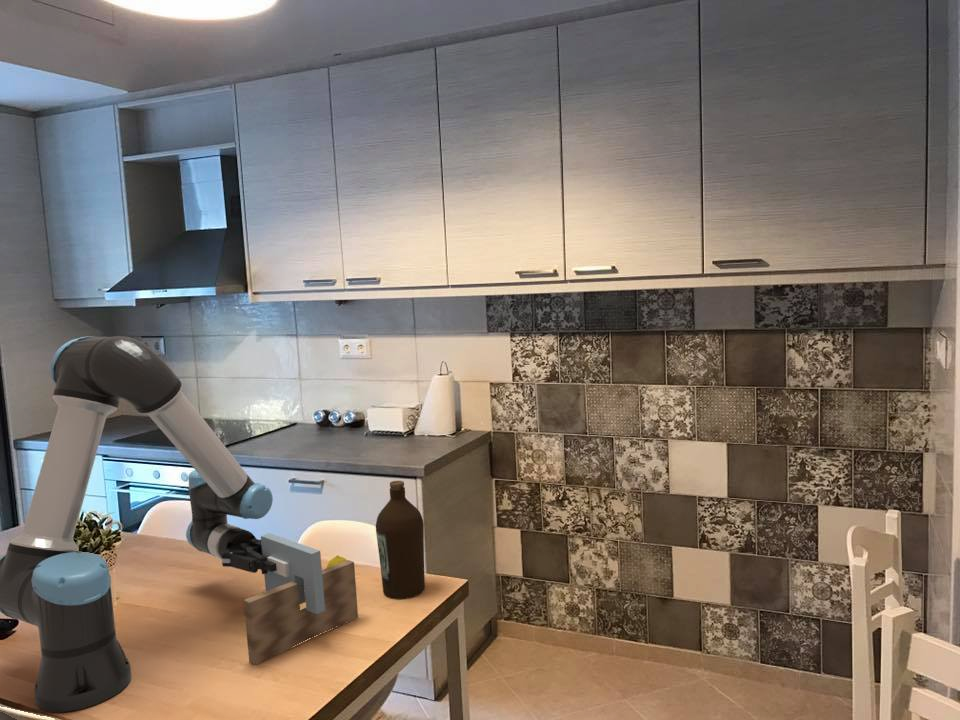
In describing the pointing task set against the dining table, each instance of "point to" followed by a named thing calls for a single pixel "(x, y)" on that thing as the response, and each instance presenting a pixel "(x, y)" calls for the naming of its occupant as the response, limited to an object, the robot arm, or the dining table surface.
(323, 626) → the walnut slotted board
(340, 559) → the lemon
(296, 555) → the slate slotted plate
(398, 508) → the dark brown bottle
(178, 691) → the dining table surface
